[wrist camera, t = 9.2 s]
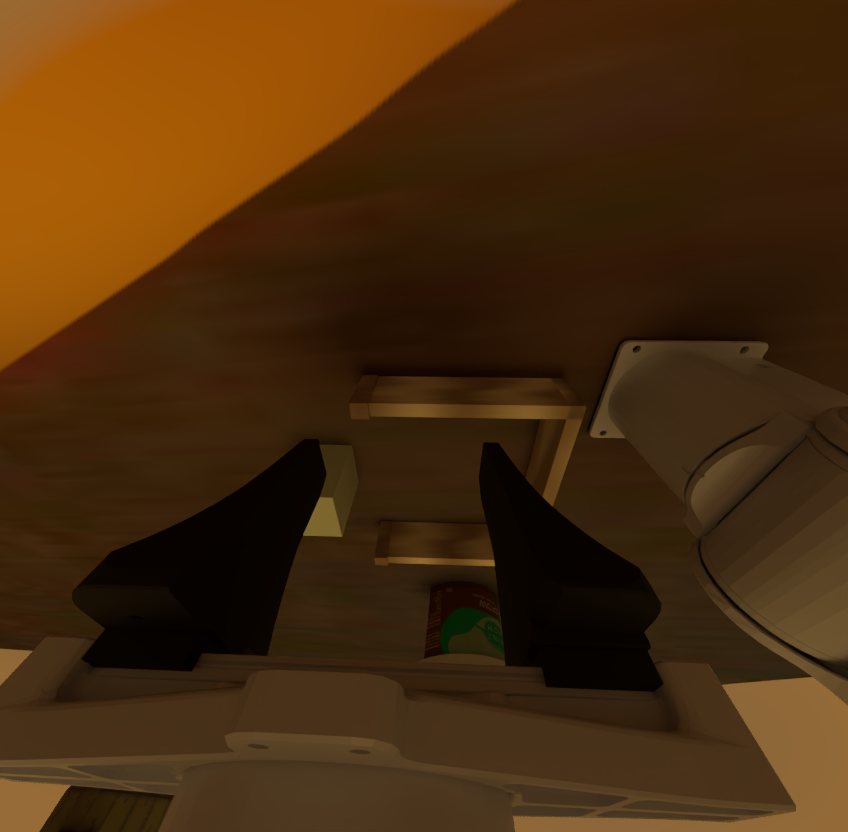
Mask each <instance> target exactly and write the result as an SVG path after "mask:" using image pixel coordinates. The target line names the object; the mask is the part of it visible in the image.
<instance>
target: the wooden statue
mask: <svg viewBox="0 0 848 832" xmlns="http://www.w3.org/2000/svg"><path fill="white" fill-rule="evenodd" d="M173 798H174V795H170V794H160V793H149V792H139V791H128V790H118V789H107V788H96V787H85V786H73V785H71V786H70V787H69V788H68V789H67V790H66V792H65V793H64V795H63V796H62V798H61V799H60V801H59V802H58V804H57V806H56V807H55V809H54V810H53V812H52V813H51V815H50V816H49V818H48V819H47V821H46V822H45V824H44V826H43V827H42V829H41V830H40V832H158V830H159V828H160V826H161V824H162V822H163V819H164V817H165V815H166V813H167V811H168V809H169V806H170V804H171V802H172V800H173Z"/></svg>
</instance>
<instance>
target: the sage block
mask: <svg viewBox="0 0 848 832" xmlns="http://www.w3.org/2000/svg"><path fill="white" fill-rule="evenodd" d="M320 449H321V453H322V457H323V461H324V465H325V469H326V473H327V475H326V479H325V482H324V486H323V489H322V492H321V495H320V498H319V500H318V502H317V505H316V507H315V509H314V512H313V514H312V516H311V518H310V521H309V523H308V525H307V527H306V529H305V532H304V534H303V536H341V537H342V535H343V532H344V529H345V525H346V522H347V519H348V515H349V512H350V509H351V505H352V502H353V499H354V495H355V492H356V488H357V485H358V476H357V471H356V465H355V459H354V454H353V448H352V445H320Z"/></svg>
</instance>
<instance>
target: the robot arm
mask: <svg viewBox="0 0 848 832" xmlns="http://www.w3.org/2000/svg"><path fill="white" fill-rule="evenodd" d="M635 346H638V347H637V349H636V350H634V351H633V348H634V347H635ZM743 347H744V348H743ZM742 348H743V349H742ZM741 349H742V350H741ZM767 349H768V344H767V343H765V342H761V341H670V340H628V341H625V342H623V343H622V344H621V345H620V347H619V349H618V352H617V354H616V357H615V360H614V363H613V365H612V368H611V371H610V374H609V376H608V379H607V382H606V384H605V387H604V390H603V393H602V395H601V398H600V401H599V404H598V406H597V409H596V412H595V415H594V417H593V420H592V423H591V425H590V428H589V434H590V436H591V437H594V438H626V439H627V440H628V441H629V442H630V443H631V444H632V446H633V447H634V448H635V449H636V450H637V451H638V452H639V454H640V455H641V456H642V457H643V458H644V459H645V460H646V461H647V463H648V464H649V465H650V466H651V467H652V468H653V469H654V471H655V472H656V473H657V474H658V475H659V476H660V477H661V479H662V480H663V481H664V482H665V483H666V484H667V485H668V487H669V488H670V489H671V490H672V491H673V492H674V493H675V495H676V496H677V497H678V498H679V499H680V500H681V501H682V503H683V504H684V505H685V506H686V507H687V509H688V510H687V514H686V516H685V517H684V518H683V520H682V521H683V522H684V523H685V525H686V526H687V527H688V528H689V529H690V531H691V532H692V533H693V534H694V536H695V537H696V538H697V539H696V540H695V541H694V542H693V544H692V545H691V548H690V552H689V556H690V562H691V566H692V569H693V571H694V573H695V575H696V577H697V579H698V581H699V582H700V584H701V585H702V587H703V588H704V590H705V591H706V592H707V594H708V595H709V596H710V597H711V599H712V600H713V601H714V602H715V603H716V605H717V606H718V607H719V608H720V609H721V610H722V611H723V612H724V613H725V614H726V615H727V616H728V617H729V618H730V619H731V620H732V621H733V622H734V623H735V624H736V625H738V626H739V627H740V628H741V629H742V630H744V631H745V632H746V633H748V634H749V635H750V636H752V637H753V638H754V639H756V640H757V641H758V642H760V643H761V644H763V645H764V646H765V647H767V648H769V649H770V650H772V651H773V652H775V653H777V654H778V655H780V656H781V657H783V658H785V659H786V660H788V661H790V662H791V663H793V664H795V665H796V666H798V667H799V668H801V669H802V670H804V671H805V672H806V673H808V674H809V675H811V676H812V677H814V678H815V679H816V680H818V681H819V682H820V683H822V684H823V685H824V686H825V687H827V688H828V689H829V690H830V691H832V692H833V693H834V694H835V695H836V696H838V697H839V698H840V699H841V700H842V701H843V702H845V703H846V704H847V705H848V395H847V394H845V393H842V392H840V391H838V390H835V389H833V388H830V387H828V386H826V385H823V384H821V383H819V382H816V381H814V380H811V379H809V378H807V377H804V376H802V375H799V374H797V373H795V372H792V371H790V370H788V369H785V368H783V367H780V366H778V365H776V364H773V363H771V362H769V361H766V360H764V359H762V357H763V356H764V354H765V353H766V351H767ZM740 350H741V351H740ZM601 431H603V432H602V433H600V432H601ZM326 475H327V473H326V469H325V465H324V461H323V457H322V453H321V449H320V445H319V441H318V439H304V440H303V441H301V442H300V443H299V444H298V445H296V446H295V447H294V448H293V449H291V450H290V451H289V452H288V453H286V454H285V455H284V456H283V457H281V458H280V459H279V460H278V461H276V462H275V463H274V464H273V465H271V466H270V467H269V468H268V469H266V470H265V471H264V472H262V473H261V474H259V475H258V476H257V477H255V478H254V479H253V480H251V481H250V482H249V483H247V484H246V485H244V486H243V487H241V488H240V489H238V490H237V491H235V492H234V493H232V494H231V495H229V496H227V497H226V498H224V499H222V500H221V501H219V502H217V503H216V504H214V505H212V506H210V507H208V508H207V509H205V510H203V511H201V512H199V513H197V514H196V515H194V516H192V517H190V518H188V519H186V520H184V521H182V522H180V523H178V524H176V525H174V526H172V527H169V528H167V529H165V530H163V531H161V532H158V533H156V534H154V535H152V536H149V537H147V538H144V539H142V540H140V541H137V542H135V543H132V544H130V545H127V546H125V547H122V548H120V549H117V550H115V551H112V552H111V553H109V555H108V556H107V557H106V558H105V559H104V560H103V561H102V562H101V563H100V564H99V565H98V566H97V567H96V568H95V569H94V570H93V571H92V572H91V573H90V574H89V575H88V576H87V577H86V578H85V579H84V580H83V581H82V582H81V583H80V584H79V585H78V586H77V587H76V588H75V589H74V590H73V592H72V600H73V602H74V604H75V605H76V606H77V607H78V608H79V609H80V610H81V611H83V612H84V613H85V614H87V615H88V616H89V617H91V618H92V619H93V620H95V621H96V622H97V623H99V624H100V625H101V626H102V627H104V628H105V630H104V631H103V632H102V634H101V635H100V636H99V637H98V639H97V640H95V639H92V638H89V637H83V636H60V635H50V636H48V637H46V638H45V639H44V640H43V641H42V642H41V643H40V644H39V645H38V646H37V647H36V648H35V649H34V651H33V652H32V653H31V654H30V655H29V656H28V657H27V658H26V659H25V660H24V661H23V662H22V663H21V664H20V666H19V667H18V668H17V669H16V670H15V671H14V672H13V673H12V674H11V675H10V676H9V677H8V678H7V679H6V680H5V681H4V683H3V684H2V685H1V686H0V778H1V779H5V780H9V781H16V782H33V783H47V784H60V785H73V786H85V787H96V788H107V789H118V790H128V791H139V792H149V793H160V794H170V795H174V798H173V800H172V802H171V804H170V806H169V809H168V811H167V813H166V815H165V817H164V819H163V822H162V824H161V826H160V828H159V830H158V832H515V830H514V821H513V816H531V817H584V818H633V819H667V820H692V821H713V822H735V821H741V820H747V819H753V818H759V817H765V816H771V815H777V814H783V813H789V812H794V811H796V805H795V803H794V802H793V800H792V799H791V797H790V795H789V794H788V792H787V790H786V789H785V787H784V786H783V784H782V782H781V781H780V779H779V777H778V776H777V774H776V773H775V771H774V769H773V768H772V766H771V764H770V763H769V761H768V760H767V758H766V757H765V755H764V753H763V751H762V750H761V748H760V747H759V745H758V743H757V742H756V740H755V739H754V737H753V735H752V734H751V732H750V730H749V729H748V727H747V725H746V724H745V722H744V721H743V719H742V717H741V716H740V714H739V713H738V711H737V709H736V708H735V706H734V704H733V703H732V701H731V699H730V698H729V696H728V695H727V693H726V691H725V690H724V688H723V687H722V685H721V683H720V682H719V680H718V678H717V677H716V675H715V673H714V672H713V670H712V669H711V667H710V665H709V664H707V663H705V662H698V661H674V660H666V661H659V662H655V663H653V661H652V659H651V657H650V655H649V653H648V651H647V650H649V649H650V648H651V647H650V643H649V641H648V639H647V637H646V635H645V633H644V632H645V630H646V629H647V628H648V627H649V626H650V625H651V624H652V623H653V622H654V620H655V619H656V618H657V617H658V615H659V613H660V611H661V603H660V601H659V599H658V597H657V596H656V594H655V592H654V590H653V589H652V587H651V585H650V584H649V582H648V580H647V579H646V577H645V576H644V575H643V573H642V572H641V570H640V569H639V568H638V567H637V566H635V565H633V564H632V563H630V562H628V561H627V560H625V559H623V558H622V557H620V556H619V555H617V554H615V553H614V552H612V551H610V550H609V549H607V548H606V547H604V546H603V545H601V544H600V543H598V542H597V541H596V540H594V539H593V538H591V537H590V536H588V535H587V534H586V533H584V532H583V531H582V530H580V529H579V528H578V527H576V526H575V525H574V524H573V523H571V522H570V521H569V520H568V519H566V518H565V517H564V516H563V515H562V514H560V513H559V512H558V511H557V510H556V509H555V508H554V507H553V506H551V505H550V504H549V503H548V502H547V501H546V500H545V499H544V498H543V497H542V496H541V495H540V494H539V493H538V492H537V491H536V490H535V488H534V487H533V486H532V485H531V484H530V483H529V482H528V481H527V480H526V478H525V477H524V476H523V475H522V474H521V472H520V471H519V470H518V469H517V467H516V466H515V465H514V464H513V462H512V461H511V460H510V458H509V457H508V456H507V454H506V453H505V451H504V450H503V449H502V447H501V446H500V444H499V443H485V442H484V443H483V450H482V458H481V465H480V473H479V483H480V493H481V500H482V505H483V509H484V514H485V518H486V523H487V527H488V531H489V536H490V540H491V545H492V550H493V555H494V563H495V570H496V578H497V587H498V596H499V604H500V614H501V624H502V634H503V645H504V657H505V666H495V665H472V664H448V663H424V662H400V661H376V660H353V659H329V658H305V657H281V656H267V654H268V650H269V646H270V642H271V637H272V633H273V629H274V625H275V621H276V618H277V614H278V610H279V607H280V603H281V599H282V596H283V592H284V589H285V586H286V582H287V579H288V576H289V572H290V569H291V566H292V563H293V560H294V557H295V554H296V551H297V548H298V546H299V543H300V541H301V538H302V536H303V534H304V532H305V529H306V527H307V525H308V523H309V521H310V518H311V516H312V514H313V512H314V509H315V507H316V505H317V502H318V500H319V498H320V495H321V492H322V489H323V486H324V482H325V479H326Z"/></svg>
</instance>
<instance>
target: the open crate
mask: <svg viewBox="0 0 848 832" xmlns="http://www.w3.org/2000/svg"><path fill="white" fill-rule="evenodd" d="M349 407H350V413H351V419H370V417H371V416H385V417H448V418H512V419H540V422H539V426H538V430H537V434H536V438H535V442H534V446H533V450H532V454H531V458H530V462H529V466H528V470H527V474H526V480H527V481H528V482H529V483H530V484H531V485H532V486H533V487H534V488H535V490H536V491H537V492H538V493H539V494H540V495H541V496H542V497H543V498H544V499H545V500H546V501H547V502H548V503H549V504H550V505H551V506H553V504H554V501H555V498H556V495H557V492H558V489H559V486H560V483H561V480H562V477H563V475H564V472H565V469H566V466H567V463H568V460H569V457H570V454H571V451H572V448H573V445H574V443H575V440H576V437H577V434H578V431H579V428H580V425H581V422H582V419H583V416H584V413H585V411H586V408H587V406H586V405H585V403H584V402H583V401H582V400H581V398H580V397H579V396H578V395H577V394H576V392H575V391H574V390H573V389H572V387H571V386H570V385H569V384H568V383H567V381H566V380H565V379H564V378H492V377H405V376H378V375H362V377H361V379H360V381H359V383H358V385H357V387H356V390H355V392H354V394H353V396H352V398H351V400H350V402H349ZM374 559H375V565H388V563H411V564H443V565H475V566H495V563H494V555H493V550H492V545H491V540H490V536H489V531H488V527H487V524H467V523H430V522H393V521H381V525H380V530H379V535H378V541H377V546H376V552H375V557H374Z"/></svg>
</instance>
